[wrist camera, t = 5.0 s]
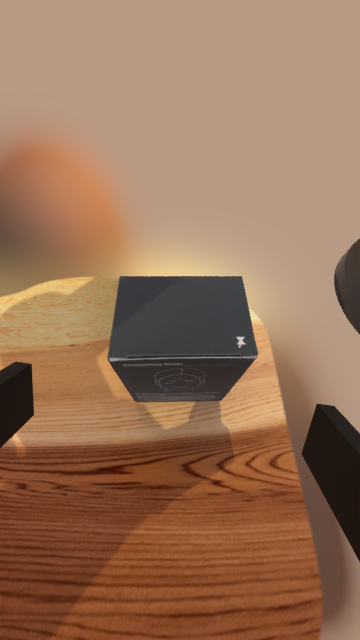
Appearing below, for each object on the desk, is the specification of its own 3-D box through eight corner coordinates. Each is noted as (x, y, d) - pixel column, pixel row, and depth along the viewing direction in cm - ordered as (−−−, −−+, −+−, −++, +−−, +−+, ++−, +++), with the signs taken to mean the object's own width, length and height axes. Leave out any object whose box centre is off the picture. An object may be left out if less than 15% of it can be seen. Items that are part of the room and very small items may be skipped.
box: (216, 343, 24) (244, 273, 15) (221, 402, 21) (262, 360, 12) (137, 343, 24) (117, 272, 15) (132, 403, 21) (104, 361, 12)
